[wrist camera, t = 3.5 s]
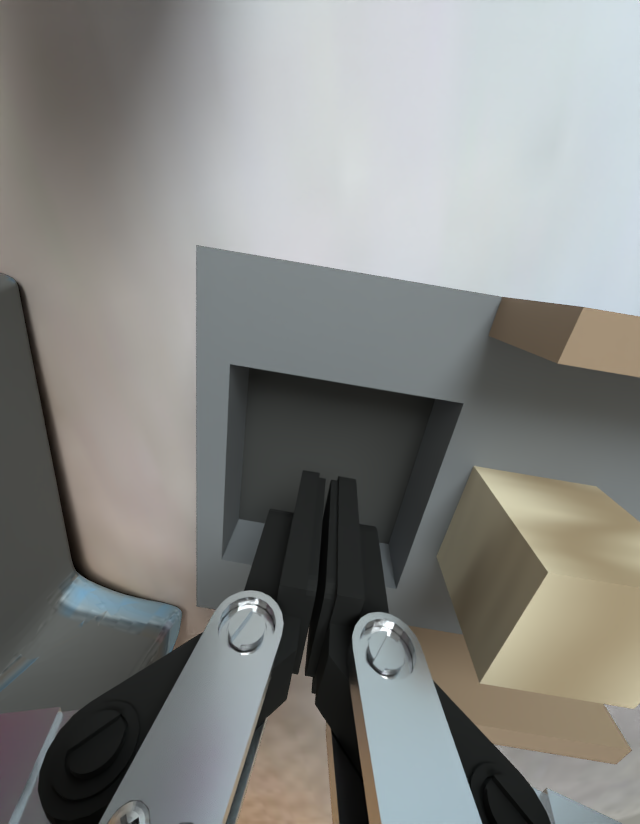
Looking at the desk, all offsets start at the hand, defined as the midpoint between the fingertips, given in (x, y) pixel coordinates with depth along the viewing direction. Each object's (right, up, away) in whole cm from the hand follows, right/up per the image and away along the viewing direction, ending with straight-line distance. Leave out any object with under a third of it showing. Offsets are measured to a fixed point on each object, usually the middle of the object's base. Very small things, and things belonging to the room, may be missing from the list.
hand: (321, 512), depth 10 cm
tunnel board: (+7, 0, +3) cm, 8 cm away
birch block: (+7, -1, +1) cm, 7 cm away
